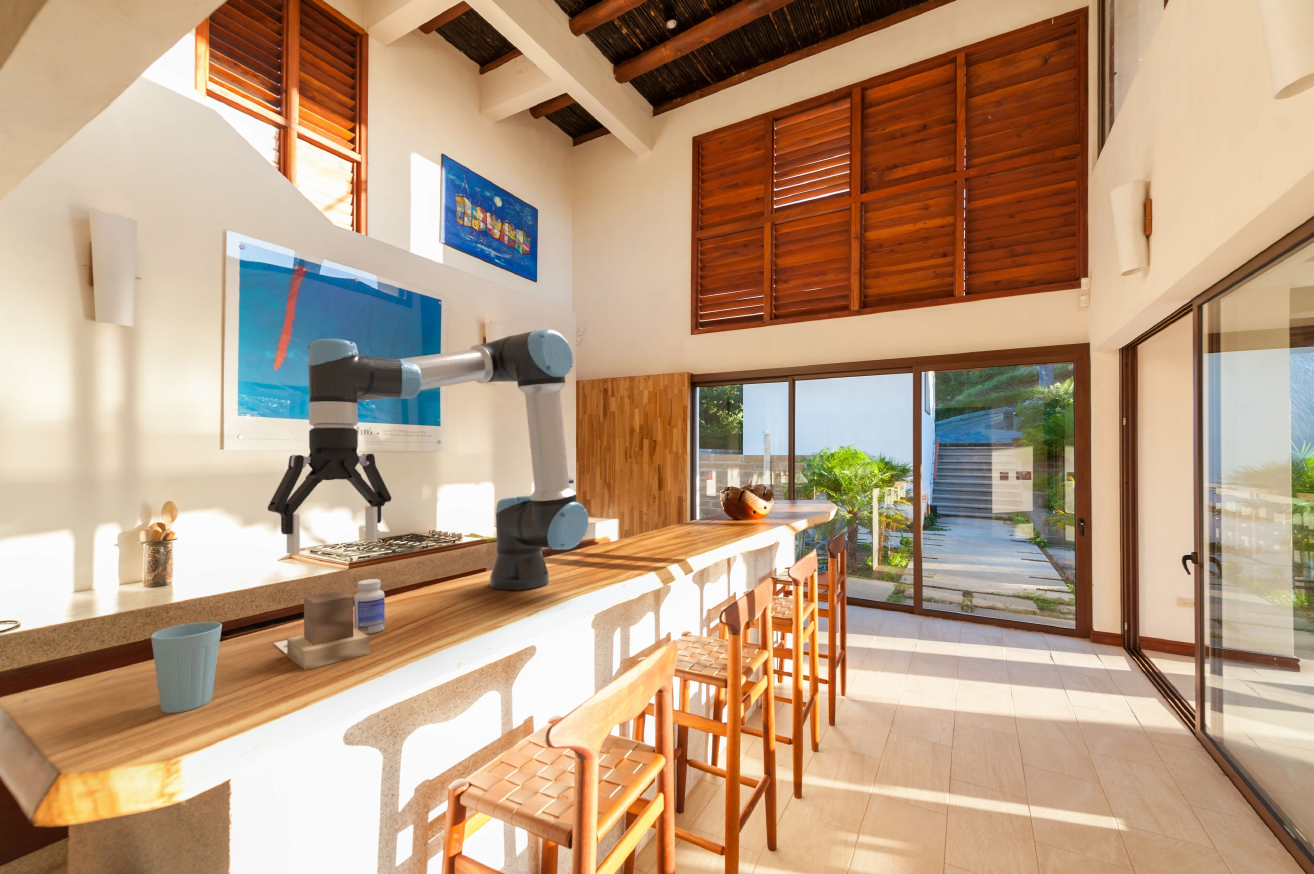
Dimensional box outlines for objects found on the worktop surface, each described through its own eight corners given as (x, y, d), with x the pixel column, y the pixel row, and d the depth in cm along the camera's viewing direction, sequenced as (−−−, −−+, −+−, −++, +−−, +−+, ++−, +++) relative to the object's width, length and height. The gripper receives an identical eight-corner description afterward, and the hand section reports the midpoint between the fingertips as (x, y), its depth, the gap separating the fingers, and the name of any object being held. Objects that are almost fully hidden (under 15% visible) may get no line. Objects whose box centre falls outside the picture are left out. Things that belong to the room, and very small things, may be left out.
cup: (134, 714, 77) (135, 636, 77) (190, 691, 85) (191, 620, 85) (182, 719, 76) (183, 639, 76) (234, 694, 83) (235, 622, 84)
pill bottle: (390, 628, 114) (390, 579, 114) (365, 636, 109) (364, 585, 109) (374, 625, 117) (374, 576, 117) (348, 632, 112) (348, 582, 112)
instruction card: (333, 631, 113) (333, 629, 113) (347, 639, 107) (347, 638, 107) (273, 644, 105) (273, 642, 105) (285, 654, 100) (285, 652, 100)
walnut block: (341, 629, 104) (341, 590, 104) (353, 636, 100) (353, 596, 100) (304, 637, 99) (304, 597, 100) (314, 645, 95) (314, 602, 95)
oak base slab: (349, 641, 107) (349, 624, 107) (369, 653, 100) (369, 636, 100) (287, 655, 99) (287, 638, 99) (304, 670, 92) (304, 651, 92)
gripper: (387, 429, 114) (388, 536, 114) (243, 426, 93) (244, 557, 93) (410, 428, 110) (411, 538, 110) (265, 424, 89) (265, 561, 89)
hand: (334, 547), depth 101 cm, fingers open, 13 cm apart
